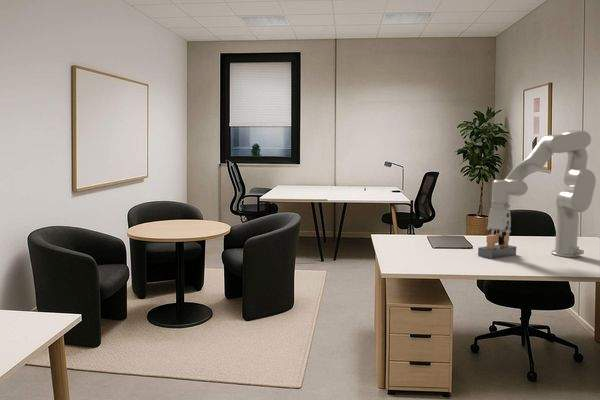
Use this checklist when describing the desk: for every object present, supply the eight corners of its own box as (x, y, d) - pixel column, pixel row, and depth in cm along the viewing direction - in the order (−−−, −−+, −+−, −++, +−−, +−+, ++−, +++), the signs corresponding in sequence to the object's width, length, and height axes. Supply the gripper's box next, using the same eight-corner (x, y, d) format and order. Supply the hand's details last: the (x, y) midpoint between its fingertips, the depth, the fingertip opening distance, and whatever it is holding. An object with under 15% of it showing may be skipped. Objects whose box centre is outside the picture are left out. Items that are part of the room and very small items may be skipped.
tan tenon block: (508, 251, 273) (509, 233, 272) (491, 253, 266) (492, 236, 265) (503, 249, 276) (504, 232, 275) (485, 252, 269) (486, 235, 268)
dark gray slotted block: (516, 254, 273) (516, 246, 272) (491, 258, 263) (492, 250, 262) (501, 251, 279) (502, 243, 279) (477, 255, 270) (478, 247, 269)
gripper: (519, 207, 264) (517, 246, 266) (490, 203, 277) (488, 240, 279) (509, 208, 260) (507, 247, 262) (480, 204, 273) (478, 242, 275)
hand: (497, 243), depth 271 cm, fingers closed on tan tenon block, 2 cm apart
